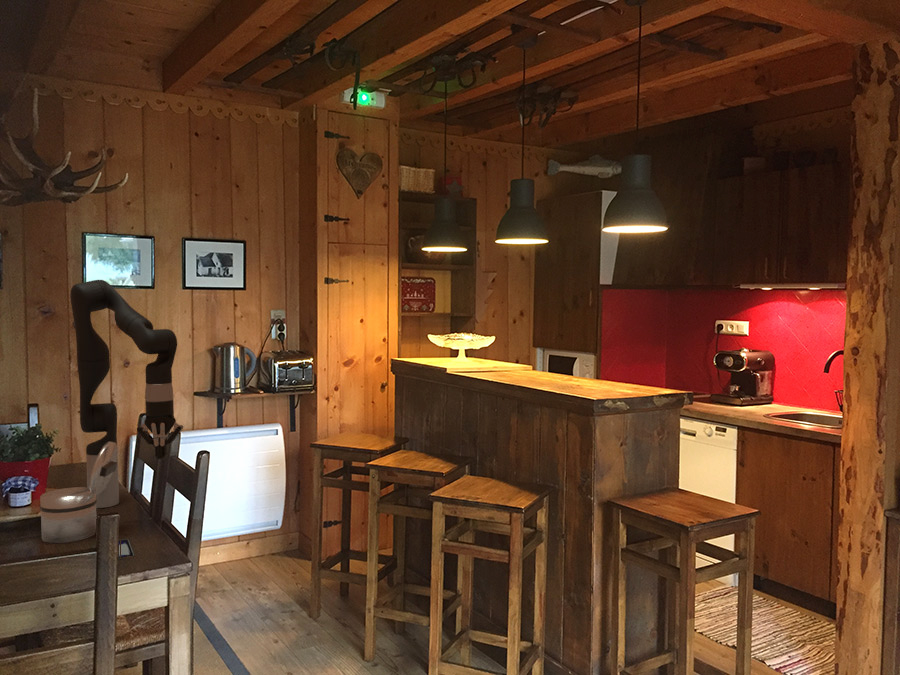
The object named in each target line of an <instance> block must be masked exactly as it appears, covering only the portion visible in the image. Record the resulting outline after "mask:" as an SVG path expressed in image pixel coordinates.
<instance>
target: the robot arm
mask: <svg viewBox="0 0 900 675" xmlns="http://www.w3.org/2000/svg"><path fill="white" fill-rule="evenodd" d="M69 296H70V302H71V303H70V305H71V311H72V317H73V323H74V330H75V340H76V361H77V363H76V364H77V365H76V366H77V373H78V374H77V375H78V382H79V423H80V428H81V431H82V432H84V433H86V434H87V433H89V434H90V433H91V434H92V433H104V432H105V433H106V434H105V435H104V436H103V437H101V438H99V439H98V440H95V441H92V442H91V443H88V444H87V445H86V447H85V452H86V453H85V454H86V455H85V457H86V459H85V460H86V482H87V483H86V484H87V485H86V486H87V487H88V488H90V486H89V485H90V477H91V472H92V469H93V466H94V463H95V461H96V458H97V456H98V454H99V452H100V451H101V449H102V448H103V446H104V445H105V444H106V443H107V442H115V443H116V444H117V445H118V434H117V432H118V409H117V406H116V404H115V403H113V402H112V403H111V402H106V403H92V400H93V397H94V395H95V393H96V391H97V389H98V388H99V386H100V385H101V384H102V382H103V381H104V380H105V378H106V377H107V376H108V373H109V372H110V369H111V361H110V359H111V358H110V355H111V354H110V350H109V349H110V348H109V347H108V344H107V343H106V342H105V340H104V339H103V338H102V337H101V336H100V335H99V334H98V333H97V331H96V330H95V328H94V327H93V324H92V316H91V314H92V313H95V312H98V311H103V310H105V309H109V310H110V311H113V312H114V323H115V324H116V326H117V328H118V329H119V330H120V331H121V332H122V333H124V334H125V335H127V336H128V337H130V339H132V341H133V343H134V344H135V345H136V347H137V348H138V350H139V351H140V352H142V353H143V354H146V355H157V356H156V359H155V360H154V361H152V362H149V363H148V364H146V366H145V388H144V389H145V390H144V400H145V404H144V405H145V419H144V423H142V425H141V426H138V427H137V428H136V432H138V433H139V435H141V436H142V438H143V440H145V441H146V443H147V444H148V445H153V446H154V455H155V458H157V460H165V457H167V455H168V446H167V445H169V444H171V443H173V442H174V441H175V439H176V438H177V437H178V436H179V434H180V433H181V432H182V430H183V429H184V426H183V424H181V425H180V424H179V423H178V422H177V421H176V417H175V411H174V408H175V407H174V387H173V372H172V370H173V364H174V361H175V357H176V353H177V348H178V339H177V336H176V333H175V332H174V331H173V330H171V329H169V328H163V329H162V328H161V329H160V328H159V329H154V325H153V323H152V322H151V321H150V319H148V318H147V317H145V316H143V315H142V313H140V312H138V311H136V310H135V308H133V307H131V305H130V304H129V303H128V301H126V300H125V299H124V297H122V295H121V294H120V293H119V292H118V291H117V290H116V289H115V288H114V287H113V286H112V285H111V284H110V283H109V282H107V281H105V280H104V279H95V280H90V281H88V280H87V281H84V282H78V283H75V284H73V285H72V287H71V289H70V295H69ZM172 428H173V429H172ZM148 430H149V432H150V433H152V434H150V433H149V432H148ZM171 430H173V432H172V434H170V436H169V433H170V431H171ZM141 436H140V437H141ZM118 457H119V456H118V454H117V460H116V462H118V463H117V467H116V470H115V471H114V472H113V473H112V476H111V478H110V480H109V482H108V484H107V486H106V487H105V489H104V490H103V491H102V492H101V493H100V494H98V495H97V494H96V498H97V503H96V509H103V508H110V507H115V506H116V505H118V504H120V494H119V493H120V492H119V488H120V486H119V461H118V459H119V458H118Z"/></svg>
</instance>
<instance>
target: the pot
mask: <svg viewBox="0 0 900 675" xmlns="http://www.w3.org/2000/svg"><path fill="white" fill-rule="evenodd" d="M39 499H40V500H39V502H40V503H39V504H40V505H39V510H40V521H41V522H40V523H41V525H40V526H41V540H42V541H43V542H45V543H49V544H64V543H65V544H66V543H72V542H77V541H82V540H85V539H88V538H91V537H93V536H95V535H96V534H95V529H96V519H97V516H98V515H97V508H96V503H97V498H96V494H93V493H91V492H90V488H88V487H86V486H85V487H84V486H79V487H78V486H77V487H76V486H75V487H66V488H64V487H63V488H58V489H54V490H49V491H46V492H43V493H42V494H41V495H40V496H39Z"/></svg>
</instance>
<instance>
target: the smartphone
mask: <svg viewBox="0 0 900 675" xmlns="http://www.w3.org/2000/svg"><path fill="white" fill-rule="evenodd" d="M118 540H119V560H118V561H120V540H121V558H123V557H127V556H134V557H135V554H134V553H135V552H134V551H133V548H132V545H131V543H130V540H129V539H128V538H124V539H118Z"/></svg>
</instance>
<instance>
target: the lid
mask: <svg viewBox="0 0 900 675" xmlns="http://www.w3.org/2000/svg"><path fill="white" fill-rule="evenodd" d="M118 452H119V450H118V443H117V444H116V443H115V442H107V443H106V444H105V445H104V446H103V448H102V449H101V451H100V452H99V454H98V456H97V458H96V461H95V463H94V466H93V469H92V472H91V477H90V485H89V486H90V492H91V493H93V494H97V495H98V494H100V493H101V492H102V491H103V490H104V489H105V487H106V486H107V484H108V482H109V480H110V478H111V476H112V473H113V472H114V471H115V470H116V467H117V463H118V464H119V461H118V462H116V460H117V455H118Z"/></svg>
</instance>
